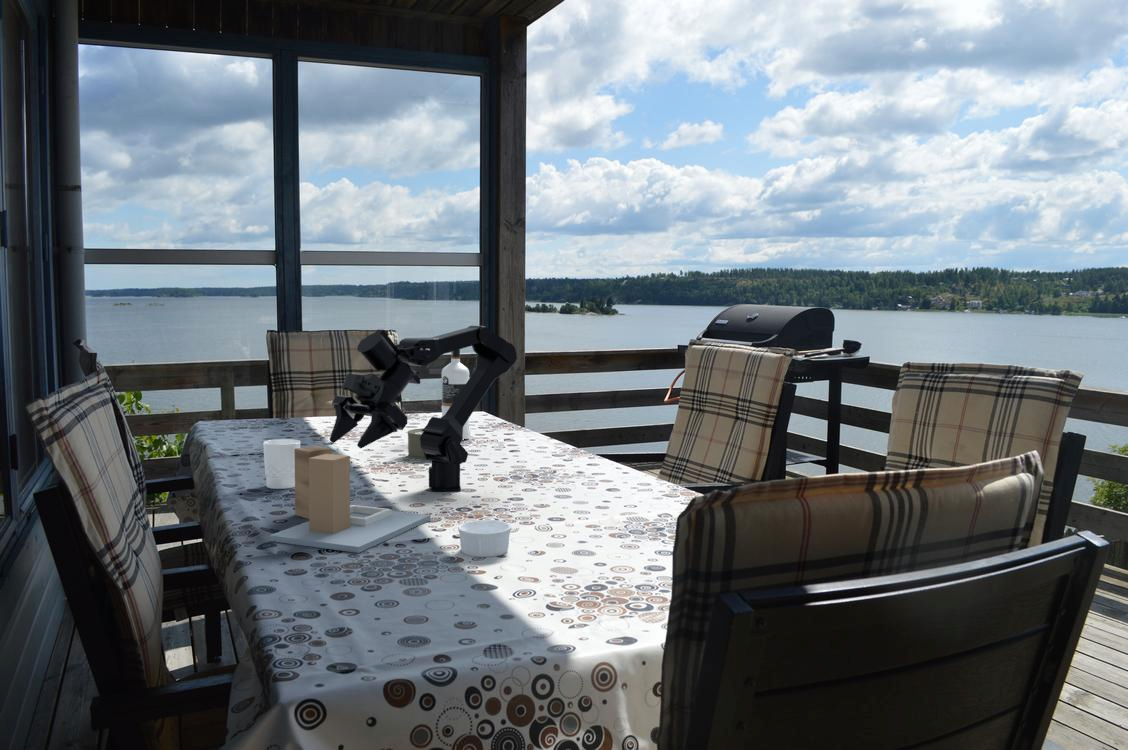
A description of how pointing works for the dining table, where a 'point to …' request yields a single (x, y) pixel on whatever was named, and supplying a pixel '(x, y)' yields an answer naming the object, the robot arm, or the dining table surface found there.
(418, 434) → the can
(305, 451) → the walnut pillar
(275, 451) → the white cup
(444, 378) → the vodka
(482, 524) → the ramekin
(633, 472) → the dining table surface
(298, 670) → the dining table surface
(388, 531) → the baseplate
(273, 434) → the dining table surface
